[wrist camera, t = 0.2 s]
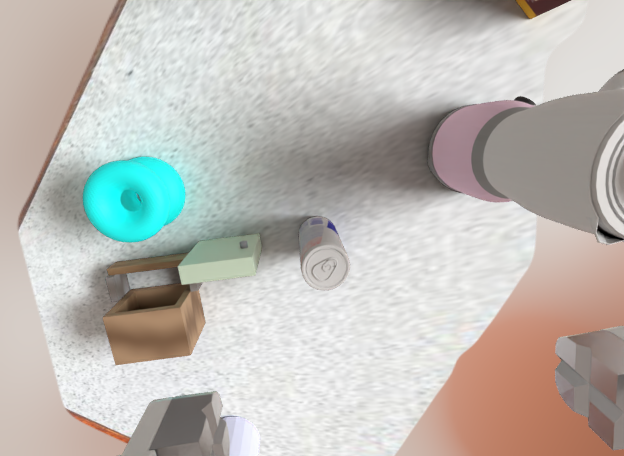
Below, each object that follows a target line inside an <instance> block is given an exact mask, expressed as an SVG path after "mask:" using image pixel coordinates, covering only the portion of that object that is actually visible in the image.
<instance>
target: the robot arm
mask: <svg viewBox="0 0 624 456" xmlns="http://www.w3.org/2000/svg"><path fill="white" fill-rule="evenodd" d="M556 354H557V356H558V357H559V358H560V359H561V360H562V361H561V362H560V364H559V365H558V367H557V368H556V369H555V379H556V385H557V387H558V390H559V393H560V395H561V397H562V398H563V400H564V401H565V403H566V404H567V405H568V406H569V407H570V408H571V409H572V410H573V411H574V412H576V413H579V414H581V415H583V416H585V417H588V424H589V427H590V428H591V429H592V430H593V431H594V432H595V433H596V434H597V435H598V436H599V437H600V438H601V439H602V440H603V441H604V442H605V443H606V444H607V445H608V446H609V447H610V448H611V449H612V450H618V449H624V326H618V327H613V328H608V329H602V330H600V331H595V332H588V333H583V334H577V335H571V336H565V337H559V338H558V340H557V343H556ZM222 407H223V406H222V402H221V398H220V395H219V393H218V392H217V391H213V392H206V393H199V394H191V395H184V396H176V397H169V398H163V399H157V400H153V401H152V402H150V403H149V405H148V407H147V409H146V410H145V412H144V414H143V416H142V418H141V420H140V422H139V424H138V425H137V427H136V429H135V431H134V433H133V435H132V437H131V439H130V441H129V442H128V444H127V446H126V448H125V450H124V452H123V454H122V455H119V456H229V449H230V440H229V431H228V427H227V422H226V421H225V420H223V419H222V418H221V417H220V415H221V411H222Z"/></svg>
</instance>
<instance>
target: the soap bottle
mask: <svg viewBox="0 0 624 456" xmlns="http://www.w3.org/2000/svg"><path fill="white" fill-rule="evenodd" d="M223 420H225V421H226V422H227V427H228V431H229V440H230V449H229V456H259V446H260V436H259V432H258V429H257V428H256V427H255V426H254V424H253V423H251V422H250V421H248V420H247V419H245V418H241V417H237V416H235V417H226V418H223Z"/></svg>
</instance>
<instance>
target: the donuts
mask: <svg viewBox="0 0 624 456" xmlns="http://www.w3.org/2000/svg"><path fill="white" fill-rule="evenodd" d="M136 193H137V194H138V195H139V197H140V199H141V201H139V199H138V198H137V195H136ZM184 203H185V188H184V184H183V181H182V179H181V177H180V176H179V174H178V173H177V172H176V170H175V169H174V168H173V167H171V166H170V165H169V164H167V163H166V162H164V161H162V160H160V159H157V158H153V157H137V158H133V159H130V160H128V161H125V160H120V161H113V162H109V163H107V164H104V165H102V166H100V167H99V168H98V169H96V170H95V171H94V172H93V173H92V174H91V175H90V177H89V178H88V180H87V182H86V184H85V187H84V191H83V205H84V209H85V212H86V215H87V217H88V219H89V220H90V222H91V223H92V224H93V226H94V227H95V228H96V229H97V230H98V231H100V232H101V233H102V234H104V235H105V236H107V237H109V238H111V239H114V240H117V241H121V242H139V241H143V240H146V239H148V238H150V237H152V236H153V235H155V234H156V233H157V232H159V231H160V230H161V228H162V227H163V226H165V225H167V224H169V223H171V222H172V221H173V220H175V219H176V218H177V217H178V215H179V214H180V213H181V211H182V209H183V206H184Z"/></svg>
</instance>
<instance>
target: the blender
mask: <svg viewBox="0 0 624 456" xmlns="http://www.w3.org/2000/svg"><path fill="white" fill-rule="evenodd" d="M427 161H428V165H429V168H430V170H431V172H432V173H434V175H435V176H436V178H437V179H438V180H439V181H440V182H441V183H442V184H443V185H444V186H446V187H447V188H449V189H451V190H454V191H457V192H460V193H465V194H467V195H470V196H472V197H475V198H478V199H481V200H485V201H489V202H509V201H514V202H516V203H518V204H519V205H520V206H522V207H523V208H525V209H527V210H529V211H531V212H533V213H535V214H537V215H539V216H541V217H544V218H546V219H549V220H552V221H555V222H558V223H561V224H563V225H566V226H569V227H572V228H575V229H578V230H581V231H585V232H588V233H592V234H595V237H596V239H597V241H598V242H599V243H603V244H607V245H610V244H613V243H617V242H621V241H622V242H624V69H623V70H622V71H620V72H618V73H617V74H615V75H614V76H613V77H612V78H611V79H609V80H608V81H607V83H606V84H605V85H604V86H603V87H602V88H601V89H600V90H599V91H598V92H593V93H586V94H578V95H572V96H567V97H563V98H559V99H555V100H552V101H548V102H546V103H543V104H540V105H537V106H536V105H535V103H534V102H533V101H531V100H530V99H528V98H525V97H521V96H520V97H517V98H515V100H514V101H513V100H504V101H495V102H488V103H481V104H473V105H467V106H463V107H460V108H458V109H456V110H454V111H452V112H451V113H449V114H448V115H447V116H445V117H444V118H443V119H442V120H441V122H440V123H439V124H438V125H437V127H436V129H435V130H434V132H433V134H432V137H431V140H430V144H429V159H427Z"/></svg>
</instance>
